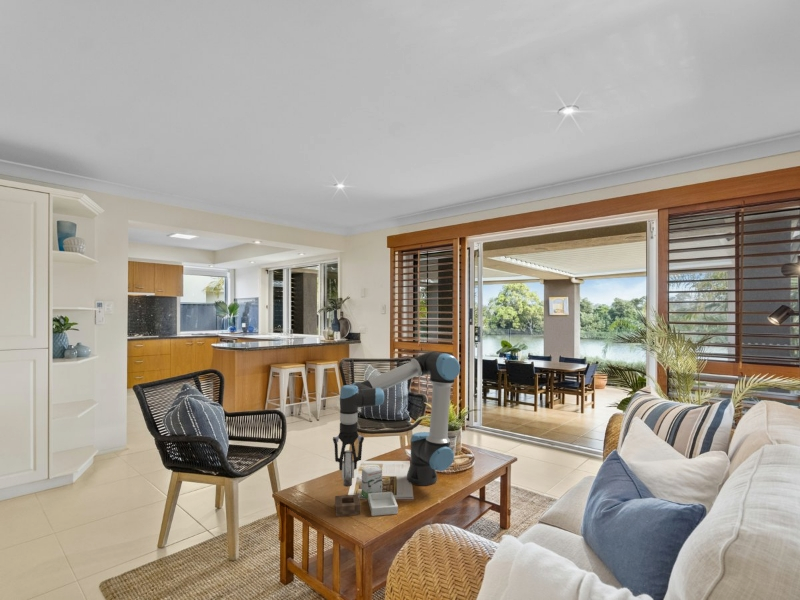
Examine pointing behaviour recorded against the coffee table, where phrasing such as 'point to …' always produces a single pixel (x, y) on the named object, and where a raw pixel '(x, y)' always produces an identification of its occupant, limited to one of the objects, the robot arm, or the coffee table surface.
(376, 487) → the ink box
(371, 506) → the tray
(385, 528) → the coffee table surface
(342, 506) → the hollow square tube
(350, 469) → the cylinder
